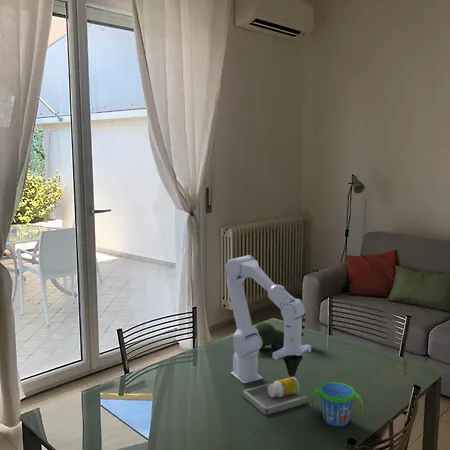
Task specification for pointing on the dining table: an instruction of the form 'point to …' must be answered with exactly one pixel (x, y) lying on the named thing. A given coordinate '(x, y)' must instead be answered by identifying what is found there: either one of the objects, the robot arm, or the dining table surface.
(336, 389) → the snack cup
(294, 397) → the tray
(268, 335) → the toy figurine
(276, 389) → the supplement bottle
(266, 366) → the dining table surface
